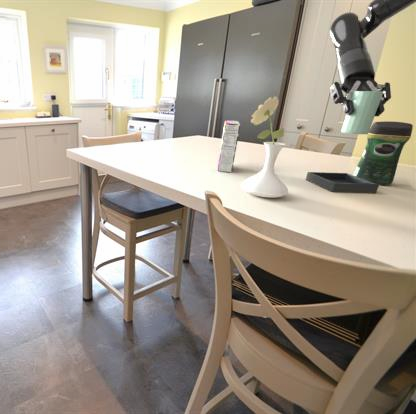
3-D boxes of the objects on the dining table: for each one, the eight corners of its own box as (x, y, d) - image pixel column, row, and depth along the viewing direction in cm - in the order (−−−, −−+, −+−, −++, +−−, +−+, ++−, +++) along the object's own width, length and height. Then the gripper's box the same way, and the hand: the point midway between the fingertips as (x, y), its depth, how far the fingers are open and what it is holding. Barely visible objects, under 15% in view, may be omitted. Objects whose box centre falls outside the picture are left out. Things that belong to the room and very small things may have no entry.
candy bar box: (217, 164, 109) (224, 120, 103) (231, 165, 107) (239, 120, 101) (216, 171, 99) (225, 123, 93) (232, 173, 98) (241, 123, 91)
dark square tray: (343, 180, 91) (346, 173, 90) (375, 193, 80) (379, 184, 79) (305, 179, 92) (307, 171, 91) (331, 192, 80) (334, 183, 79)
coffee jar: (389, 181, 91) (414, 121, 84) (392, 187, 85) (419, 123, 78) (350, 176, 97) (371, 119, 90) (351, 181, 91) (373, 121, 84)
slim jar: (356, 131, 83) (370, 91, 79) (373, 134, 78) (389, 91, 74) (336, 131, 84) (348, 91, 79) (351, 134, 78) (366, 91, 74)
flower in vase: (266, 186, 84) (288, 96, 74) (296, 200, 73) (327, 97, 64) (226, 188, 82) (243, 95, 72) (251, 202, 71) (276, 96, 62)
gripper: (334, 58, 81) (343, 103, 75) (393, 57, 79) (407, 104, 72) (320, 79, 88) (327, 122, 82) (373, 79, 85) (385, 124, 79)
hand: (364, 113), depth 77 cm, fingers closed on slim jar, 6 cm apart
